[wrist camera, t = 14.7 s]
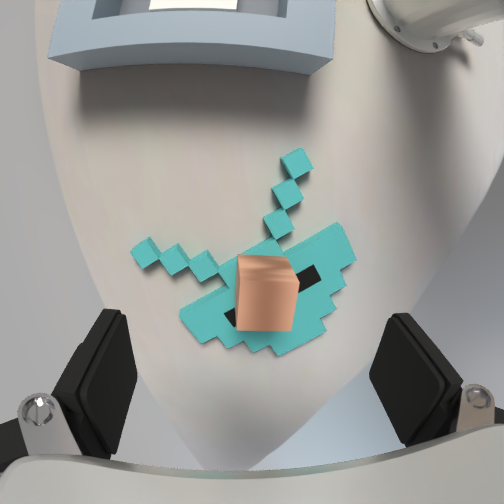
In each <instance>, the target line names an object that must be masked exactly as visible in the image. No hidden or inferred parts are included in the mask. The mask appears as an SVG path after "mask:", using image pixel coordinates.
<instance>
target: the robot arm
mask: <svg viewBox="0 0 504 504" xmlns="http://www.w3.org/2000/svg"><path fill="white" fill-rule="evenodd" d="M367 1H368V4H369V6H370V9H371V10H372V12H373V14H374V16H375V17H376V19H377V20H378V21H379V23H380V24H381V25H382V27H383V28H384V29H385V30H386V31H387V32H388V33H389V34H390V35H391V36H393V37H394V38H395V39H396V40H397V41H399V42H400V43H402V44H403V45H405V46H407V47H409V48H411V49H413V50H416V51H419V52H423V53H435V52H438V51H442V50H444V49H445V48H447V47H448V46H449V45H450V43H451V42H452V39H453V37H455V36H457V37H459V38H466V39H467V40H468V41H469V42H471V43H473V44H474V45H476V46H478V47H479V46H481V45H482V44H483V42H484V38H483V36H482V35H481V34H479V33H477V32H476V31H474V30H473V29H470V28H472V27H476V26H479V25H483V24H487V23H490V22H494V21H498V20H502V19H504V0H367ZM369 377H370V380H371V382H372V384H373V386H374V388H375V390H376V392H377V394H378V396H379V398H380V400H381V402H382V404H383V407H384V409H385V411H386V413H387V415H388V417H389V419H390V421H391V423H392V425H393V427H394V429H395V432H396V434H397V436H398V438H399V440H400V442H401V443H402V444H405V446H406V448H404V449H400V450H396V451H392V452H388V453H384V454H380V455H375V456H371V457H367V458H361V459H356V460H351V461H345V462H340V463H333V464H327V465H320V466H312V467H304V468H294V469H281V470H265V471H203V470H186V469H174V468H164V467H155V466H146V465H139V464H132V463H126V462H119V461H114V460H110V458H111V454H116V452H117V449H118V445H119V441H120V438H121V434H122V430H123V427H124V423H125V419H126V416H127V412H128V409H129V405H130V402H131V399H132V395H133V392H134V389H135V385H136V382H137V369H136V364H135V360H134V355H133V350H132V345H131V340H130V335H129V330H128V324H127V319H126V316H125V315H124V314H121V311H120V310H115V309H103V310H102V312H101V314H100V315H99V317H98V318H97V320H96V322H95V323H94V325H93V326H92V328H91V330H90V331H89V333H88V335H87V337H86V338H85V340H84V342H83V343H81V344H80V345H79V346H78V347H77V349H76V351H75V352H74V354H73V356H72V357H71V359H70V361H69V363H68V365H67V366H66V368H65V370H64V372H63V373H62V375H61V377H60V379H59V381H58V382H57V385H56V386H55V388H54V390H53V392H52V394H51V395H49V394H46V393H36V394H32V395H30V396H28V397H26V398H25V399H24V400H23V401H22V402H21V404H20V405H19V408H18V411H17V412H18V418H16V419H13V420H10V421H8V422H5V423H3V424H0V504H504V410H503V409H500V408H497V407H495V402H494V397H493V395H492V394H491V393H490V391H489V390H488V389H486V388H485V387H483V386H481V385H478V384H469V385H467V386H465V387H464V388H463V389H462V388H461V384H462V383H463V380H462V378H461V377H460V376H459V374H458V373H457V372H456V370H455V369H454V368H453V367H452V365H451V364H450V363H449V362H448V360H447V359H446V358H445V356H444V355H443V354H442V353H441V351H440V350H439V349H438V348H437V346H436V345H435V344H434V343H433V342H432V340H431V339H430V338H429V337H428V336H427V334H426V333H425V332H424V331H423V330H422V328H421V327H420V326H419V325H418V324H417V322H416V321H415V320H414V319H413V318H412V317H411V315H410V314H408V313H395V314H393V315H392V316H391V318H389V319H388V321H387V324H386V327H385V330H384V333H383V336H382V339H381V341H380V344H379V347H378V350H377V353H376V355H375V358H374V361H373V364H372V366H371V369H370V372H369Z"/></svg>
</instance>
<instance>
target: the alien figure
mask: <svg viewBox="0 0 504 504" xmlns="http://www.w3.org/2000/svg"><path fill="white" fill-rule="evenodd" d="M280 159H281V161H282V163H283V164H284V166H285V168H286V170H287V172H288V174H289V175H290V177H291V178H289V179H287V180H285V181H283V182H282V183H280V184H278V185H276V186H274V187H273V188H272V190H273V192H274V194H275V195H276V197H277V199H278V201H279V202H280V204H281V206H282V207H281V208H279V209H277V210H275V211H274V212H272V213H270V214H268V215H267V216H265V217H263V219H264V221H265V223H266V224H267V226H268V228H269V229H270V231H271V233H272V235H273V236H271V237H270V238H268V239H266V240H264V241H263V242H261V243H259V244H257V245H256V246H254V247H252V248H250V249H249V250H247V251H245V252H243V253H241V254H243V255H263V256H283V257H287V259H288V261H289V262H290V264H291V266H292V268H293V270H294V272H295V274H296V276H297V278H298V280H299V282H300V283H299V289H298V295H297V301H296V307H295V313H294V318H293V324H292V329H291V331H241V330H237V329H236V314H235V299H234V297H235V283H236V269H237V256H236V257H234V258H233V259H231V260H229V261H227V262H226V263H224V264H222V265H220V266H218V265H217V263H216V262H215V260H214V259H213V257H212V256H211V254H210V253H209V251H208V250H206V251H204V252H203V253H201V254H199V255H198V256H196V257H194V258H193V259H191V260H190V259H189V258H188V257H187V255H186V254H185V252H184V251H183V249H182V248H181V246H180V245H179V243H178V244H176V245H174V246H173V247H171V248H170V249H168V250H166V251H165V252H163V253H162V254H161V252H160V251H159V249H158V248H157V246H156V245H155V243H154V242H153V241H152V239H151V238H150V237H148V238H147V239H145V240H144V241H142V242H141V243H139V244H138V245H136V246H135V247H134V248H133V249H132V250H131V251H130V253H131V254H132V256H133V257H134V258H135V260H136V261H137V263H138V264H139V265H140V267H141V268H142V269H143V268H145V267H147V266H148V265H150V264H151V263H153V262H155V261H156V260H158V259H159V260H160V261H161V263H162V264H163V266H164V267H165V268H166V270H167V271H168V272H169V274H170V275H171V276H172V275H173V274H175V273H177V272H178V271H180V270H182V269H184V268H185V267H187V266H189V267H190V269H191V270H192V271H193V273H194V274H195V276H196V277H197V278H198V280H199V281H200V282H202V281H204V280H206V279H207V278H209V277H211V276H213V275H215V274H216V273H218V272H219V274H220V275H221V277H222V278H223V280H224V281H225V283H226V285H224V286H222V287H220V288H219V289H217V290H215V291H213V292H211V293H209V294H208V295H206V296H204V297H202V298H200V299H198V300H197V301H195V302H193V303H191V304H189V305H187V306H186V307H184V308H182V309H180V313H179V318H180V319H181V320H182V321H183V322H184V324H185V325H186V326H187V327H188V329H189V330H190V331H191V332H192V333H193V335H194V336H195V337H196V338H197V339H198V341H199V342H200V343H201V344H202V343H204V342H206V341H208V340H210V339H212V338H214V337H216V336H218V338H219V339H220V340H221V341H222V343H223V344H224V345H225V346H226V347H227V349H228V348H230V347H232V346H234V345H236V344H238V343H240V342H242V341H244V342H245V343H246V344H247V346H248V347H249V348H250V349H251V351H252V352H253V353H254V352H256V351H258V350H260V349H262V348H264V347H266V346H268V345H270V346H271V348H272V349H273V350H274V352H275V353H276V354H277V356H280V355H282V354H284V353H286V352H288V351H290V350H292V349H294V348H296V347H298V346H300V345H302V344H304V343H306V342H308V341H309V340H311V339H313V338H315V337H317V336H319V335H321V334H323V333H324V332H326V329H325V327H324V325H323V323H322V321H321V319H320V318H322V317H323V316H325V315H327V314H329V313H331V312H332V311H334V310H336V307H335V305H334V303H333V301H332V299H331V297H330V295H331V294H333V293H334V292H336V291H338V290H339V289H341V288H343V287H345V286H346V283H345V281H344V279H343V276H342V274H341V272H340V269H342V268H344V267H346V266H347V265H349V264H351V263H352V262H354V261H356V260H357V259H356V257H355V255H354V252H353V250H352V248H351V246H350V243H349V241H348V239H347V237H346V234H345V232H344V230H343V228H342V226H341V225H340V224H339V223H337V222H336V223H334V224H332V225H331V226H329V227H327V228H325V229H324V230H322V231H320V232H318V233H317V234H315V235H313V236H311V237H310V238H308V239H306V240H304V241H303V242H301V243H299V244H297V245H296V246H294V247H292V248H290V249H288V250H287V251H285V252H283V251H282V250H281V248H280V246H279V244H278V243H277V241H276V239H278V238H280V237H282V236H283V235H285V234H287V233H289V232H291V231H292V230H294V229H295V228H294V226H293V224H292V223H291V221H290V219H289V217H288V215H287V213H286V212H285V210H286V209H287V208H289V207H291V206H293V205H295V204H296V203H298V202H300V201H302V200H303V199H304V197H303V196H302V194H301V192H300V190H299V188H298V186H297V184H296V182H295V180H294V179H295V178H297V177H299V176H301V175H303V174H304V173H306V172H308V171H310V170H312V169H314V168H313V166H312V164H311V162H310V161H309V159H308V157H307V155H306V153H305V151H304V149H303V148H298V149H296V150H294V151H293V152H291V153H289V154H287V155H285V156H283V157H281V158H280Z"/></svg>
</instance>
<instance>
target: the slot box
mask: <svg viewBox="0 0 504 504" xmlns="http://www.w3.org/2000/svg"><path fill="white" fill-rule="evenodd" d="M335 12H336V0H61V2H60V5H59V9H58V12H57V16H56V20H55V24H54V28H53V32H52V36H51V41H50V46H49V51H48V56H47V58H48V59H51V60H54V61H56V62H59V63H62V64H64V65H67V66H69V67H72V68H74V69H77V70H79V71H82V70H89V69H97V68H105V67H115V66H127V65H142V64H175V63H184V64H217V65H233V66H245V67H255V68H264V69H272V70H280V71H287V72H293V73H299V74H305V75H311V74H313V73H314V72H316V71H317V70H318V69H320V68H321V67H323V66H324V65H325V64H327V63H328V62H330V61H331V60H332V59H333V52H334V35H335Z"/></svg>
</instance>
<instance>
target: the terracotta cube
mask: <svg viewBox="0 0 504 504" xmlns="http://www.w3.org/2000/svg"><path fill="white" fill-rule="evenodd" d="M299 283H300V282H299V280H298V278H297V276H296V274H295V272H294V270H293V268H292V266H291V264H290V262H289V261H288V259H287V257H283V256H263V255H243V254H238V255H237V269H236V283H235V297H234V299H235V314H236V329H237V330H241V331H291V329H292V324H293V318H294V313H295V307H296V301H297V295H298V289H299Z"/></svg>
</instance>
